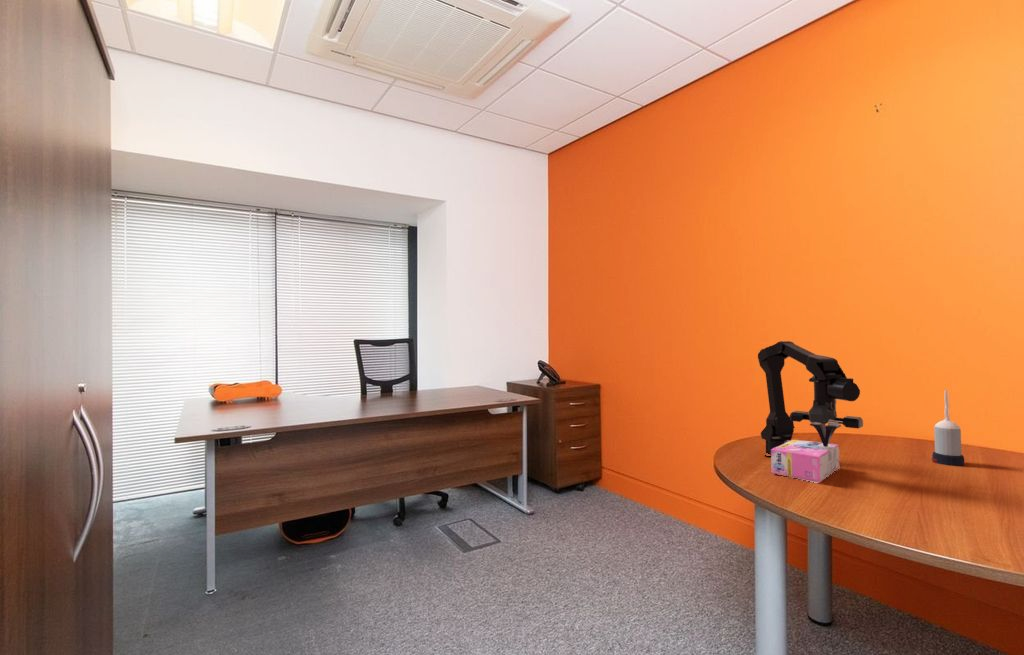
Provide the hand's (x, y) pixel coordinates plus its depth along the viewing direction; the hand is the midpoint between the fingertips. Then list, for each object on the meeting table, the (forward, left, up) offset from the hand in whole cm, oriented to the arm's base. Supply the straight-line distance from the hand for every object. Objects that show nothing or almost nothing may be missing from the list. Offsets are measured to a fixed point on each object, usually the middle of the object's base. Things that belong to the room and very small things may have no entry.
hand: (825, 446), depth 149 cm
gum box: (+2, -1, -5) cm, 5 cm away
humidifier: (+24, +47, -9) cm, 54 cm away
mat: (-5, 0, -9) cm, 10 cm away
